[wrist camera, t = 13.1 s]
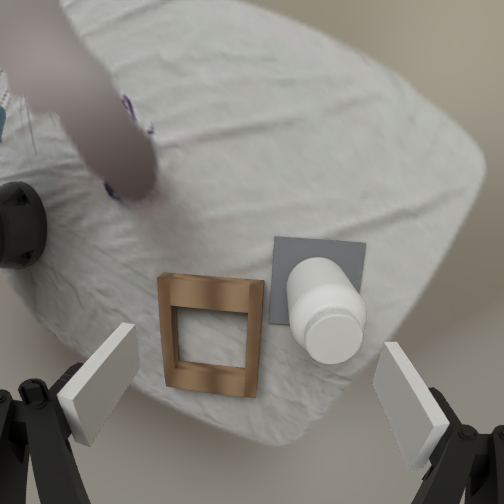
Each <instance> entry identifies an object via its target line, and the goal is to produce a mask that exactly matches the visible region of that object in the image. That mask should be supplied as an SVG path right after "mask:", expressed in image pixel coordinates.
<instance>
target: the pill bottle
mask: <svg viewBox="0 0 504 504" xmlns="http://www.w3.org/2000/svg"><path fill="white" fill-rule="evenodd" d="M286 290H287V301H288V311H289V322H290V329H291V333H292V335H293V337H294V339H295V340H296V342H297V343H298V344H299V345H300V346H301V347H302V348H303V349H305V350H306V351H307V352H308V354H309V355H310V356H311V357H312V358H313V359H315V360H316V361H318V362H320V363H323V364H338V363H342V362H344V361H346V360H348V359H350V358H351V357H352V356H353V355H354V354H355V353H356V352H357V351H358V349H359V348H360V346H361V344H362V340H363V331H364V329H365V325H366V318H367V313H366V307H365V304H364V302H363V300H362V298H361V297H360V295H359V294H358V292H357V291H356V289H355V288H354V286H353V285H352V284H351V282H350V281H349V279H348V278H347V276H346V275H345V273H344V272H343V271H342V269H341V268H340V267H339V266H338V265H337V264H336V263H334V262H333V261H331V260H329V259H326V258H321V257H314V258H309V259H306V260H304V261H302V262H300V263H299V264H298V265H297V266H296V267H295V268H294V269H293V270H292V272H291V273H290V275H289V277H288V281H287V287H286Z"/></svg>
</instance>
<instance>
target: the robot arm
mask: <svg viewBox="0 0 504 504" xmlns="http://www.w3.org/2000/svg"><path fill="white" fill-rule="evenodd" d="M5 119H6V113H5V110H4V108H3V107H2V106H0V143H1V141H2V139H1V135H2V131H3V127H4V123H5ZM45 241H46V217H45V212H44V208H43V205H42V203H41V200H40V198H39V196H38V194H37V193H36V192H35V190H34V189H33V188H32V187H31V186H30V185H28V184H27V183H24V182H9V183H6V184H4V185H2V186H0V268H9V269H21V268H25V267H27V266H29V265H32V264H33V263H35V262H36V261H37V260H38V259H39V257H40V256H41V254H42V251H43V249H44V245H45ZM139 368H140V361H139V353H138V345H137V337H136V328H135V324H129V323H122V324H121V325H120V326H119V327H118V328H117V329H116V330H115V331H114V332H113V333H112V334H111V335H110V336H109V337H108V339H107V340H106V341H105V342H104V343H103V344H102V345H101V346H100V347H99V348H98V349H97V350H96V352H95V353H94V354H93V355H92V356H91V357H90V358H89V359H88V360H87V361H86V362H85V364H82V363H77V364H75V365H73V366H71V367H70V368H69V369H68V370H67V371H66V372H65V373H64V374H63V375H62V376H61V377H60V379H58V380H57V381H56V382H55V384H54V385H53V386H52V387H51V388H50V389H49V390H48V388H47V386H46V383H45V382H44V381H42V380H40V379H28V380H26V381H24V382H22V383H21V384H20V386H19V388H18V391H19V393H20V396H21V398H22V401H18V400H13V399H12V396H11V394H10V392H8V391H7V390H3V389H2V390H0V504H26V485H27V473H28V463H29V454H30V456H31V461H32V467H33V472H34V477H35V482H36V486H37V490H38V495H39V498H40V502H41V504H91V503H90V501H89V498H88V496H87V493H86V490H85V488H84V485H83V482H82V480H81V477H80V474H79V471H78V468H77V465H76V462H75V459H74V456H73V453H72V449H71V446H70V443H69V441H68V437H69V436H70V435H71V433H72V435H73V437H74V440H75V441H76V442H78V443H80V444H83V445H86V446H88V447H91V445H92V443H93V442H94V440H95V438H96V437H97V435H98V433H99V432H100V430H101V428H102V427H103V425H104V424H105V422H106V420H107V419H108V417H109V415H110V414H111V412H112V411H113V409H114V408H115V406H116V404H117V403H118V401H119V400H120V398H121V396H122V395H123V393H124V392H125V390H126V388H127V387H128V385H129V384H130V382H131V381H132V379H133V377H134V376H135V374H136V373H137V371H138V370H139ZM372 384H373V387H374V389H375V391H376V393H377V396H378V398H379V400H380V403H381V405H382V407H383V410H384V412H385V415H386V417H387V419H388V422H389V424H390V426H391V429H392V431H393V434H394V436H395V439H396V441H397V444H398V446H399V448H400V451H401V454H402V456H403V458H404V461H405V464H406V466H407V469H408V470H413V469H418V468H423V467H424V465H425V464H426V462H427V461H428V459H429V460H430V462H431V464H432V465H431V467H430V468H429V470H428V471H427V473H426V474H425V475H424V477H423V478H422V480H423V482H422V484H421V486H420V488H419V490H418V492H417V494H416V496H415V498H414V500H413V501H412V503H411V504H459V503H460V500H461V498H462V495H463V492H464V489H465V486H466V489H465V503H464V504H504V425H499V426H497V427H495V429H494V430H493V432H492V433H491V434H478V432H477V430H475V429H474V428H473V427H472V426H469V425H464V424H463V425H462V424H461V422H460V421H459V419H458V417H457V416H456V414H455V413H454V411H453V410H452V408H451V407H449V404H448V402H447V401H446V399H445V398H444V396H443V395H442V393H441V392H439V391H438V390H437V389H435V388H434V387H433V388H427V387H426V385H425V383H424V382H423V380H422V379H421V377H420V376H419V374H418V373H417V371H416V370H415V368H414V367H413V365H412V364H411V362H410V361H409V359H408V358H407V356H406V355H405V353H404V352H403V351H402V349H401V348H400V346H399V345H398V343H397V342H384V344H383V348H382V352H381V355H380V359H379V362H378V366H377V369H376V372H375V376H374V379H373V382H372Z"/></svg>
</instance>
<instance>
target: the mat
mask: <svg viewBox="0 0 504 504" xmlns="http://www.w3.org/2000/svg"><path fill="white" fill-rule="evenodd" d="M365 247H366V243H361V242H348V241H334V240H321V239H306V238H292V237H276V236H275V239H274V254H273V269H272V283H271V297H270V311H269V323H274V324H290V322H289V311H288V301H287V290H286V287H287V281H288V277H289V275H290V273H291V272H292V270H293V269H294V268H295V267H296V266H297V265H298V264H299V263H300V262H302V261H304V260H306V259H309V258H314V257H321V258H326V259H329V260H331V261H333V262H334V263H336V264H337V265H338V266H339V267H340V268H341V269H342V271H343V272H344V273H345V275H346V276H347V278H348V279H349V281H350V282H351V284H352V285H353V286H354V288H355V289H356V291H357V292H358V294H359V290H360V283H361V277H362V270H363V263H364V255H365Z"/></svg>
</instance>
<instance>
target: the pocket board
mask: <svg viewBox="0 0 504 504" xmlns="http://www.w3.org/2000/svg"><path fill="white" fill-rule="evenodd" d="M157 283H158V303H159V318H160V332H161V343H162V354H163V364H164V373H165V382H166V386H168V387H174V388H180V389H186V390H192V391H199V392H207V393H214V394H223V395H232V396H242V397H253V398H256V390H257V377H258V364H259V350H260V335H261V321H262V306H263V291H264V280H251V279H237V278H224V277H211V276H199V275H187V274H175V273H162V274H161V275H160V276H159V277H158V278H157ZM176 306H181V307H190V308H200V309H210V310H221V311H232V312H244V313H248V324H247V344H246V365H245V368H239V367H229V366H219V365H211V364H202V363H195V362H187V361H180V360H179V348H178V331H177V311H176Z"/></svg>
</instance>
